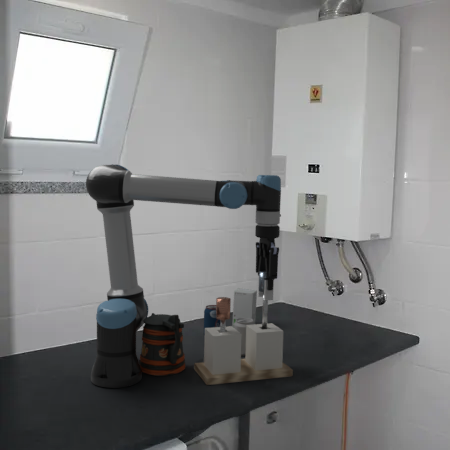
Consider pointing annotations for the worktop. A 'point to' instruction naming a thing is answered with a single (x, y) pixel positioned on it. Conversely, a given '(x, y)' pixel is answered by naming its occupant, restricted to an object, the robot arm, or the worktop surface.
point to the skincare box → (244, 304)
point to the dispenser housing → (231, 348)
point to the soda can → (210, 317)
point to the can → (243, 331)
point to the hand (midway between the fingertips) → (265, 298)
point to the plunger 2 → (265, 302)
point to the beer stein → (162, 345)
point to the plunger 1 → (223, 311)
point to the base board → (241, 374)
